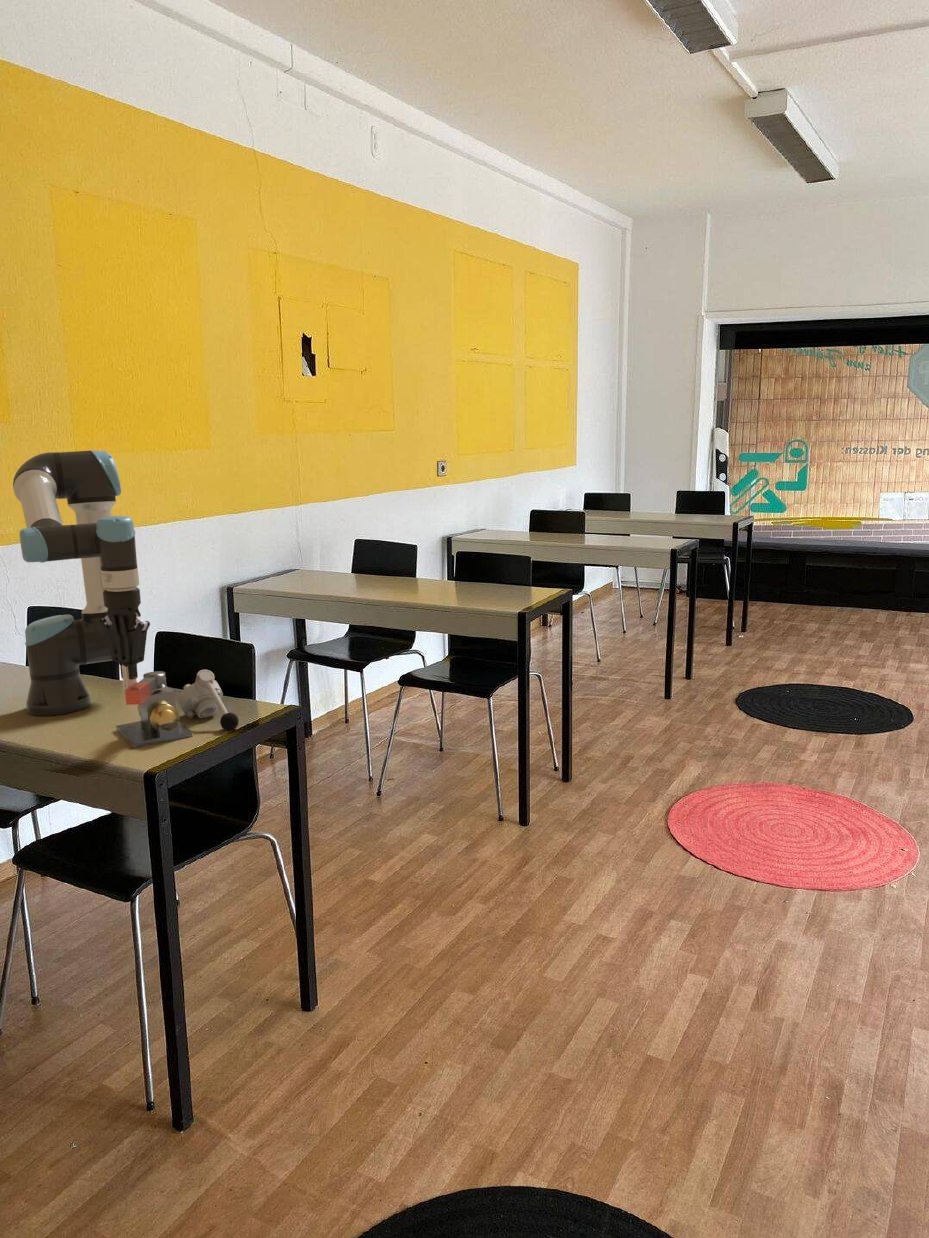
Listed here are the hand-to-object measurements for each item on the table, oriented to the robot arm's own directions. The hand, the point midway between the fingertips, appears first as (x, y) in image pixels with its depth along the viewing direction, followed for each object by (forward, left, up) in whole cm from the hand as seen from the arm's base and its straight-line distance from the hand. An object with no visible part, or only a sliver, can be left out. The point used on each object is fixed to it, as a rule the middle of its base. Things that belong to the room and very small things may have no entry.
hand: (131, 692), depth 208 cm
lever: (-1, +3, -1) cm, 4 cm away
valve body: (-6, +5, -12) cm, 14 cm away
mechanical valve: (-5, +20, -12) cm, 24 cm away
